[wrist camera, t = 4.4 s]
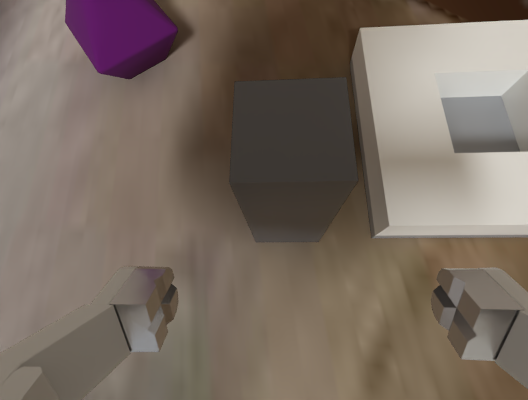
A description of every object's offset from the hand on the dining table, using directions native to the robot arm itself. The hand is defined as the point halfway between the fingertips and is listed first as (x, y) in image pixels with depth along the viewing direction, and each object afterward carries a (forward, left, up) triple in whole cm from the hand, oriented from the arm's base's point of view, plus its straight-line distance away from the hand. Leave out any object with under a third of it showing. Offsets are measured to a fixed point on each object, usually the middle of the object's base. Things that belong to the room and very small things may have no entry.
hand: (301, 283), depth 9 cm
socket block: (+14, +12, -11) cm, 21 cm away
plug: (0, +6, -11) cm, 12 cm away
